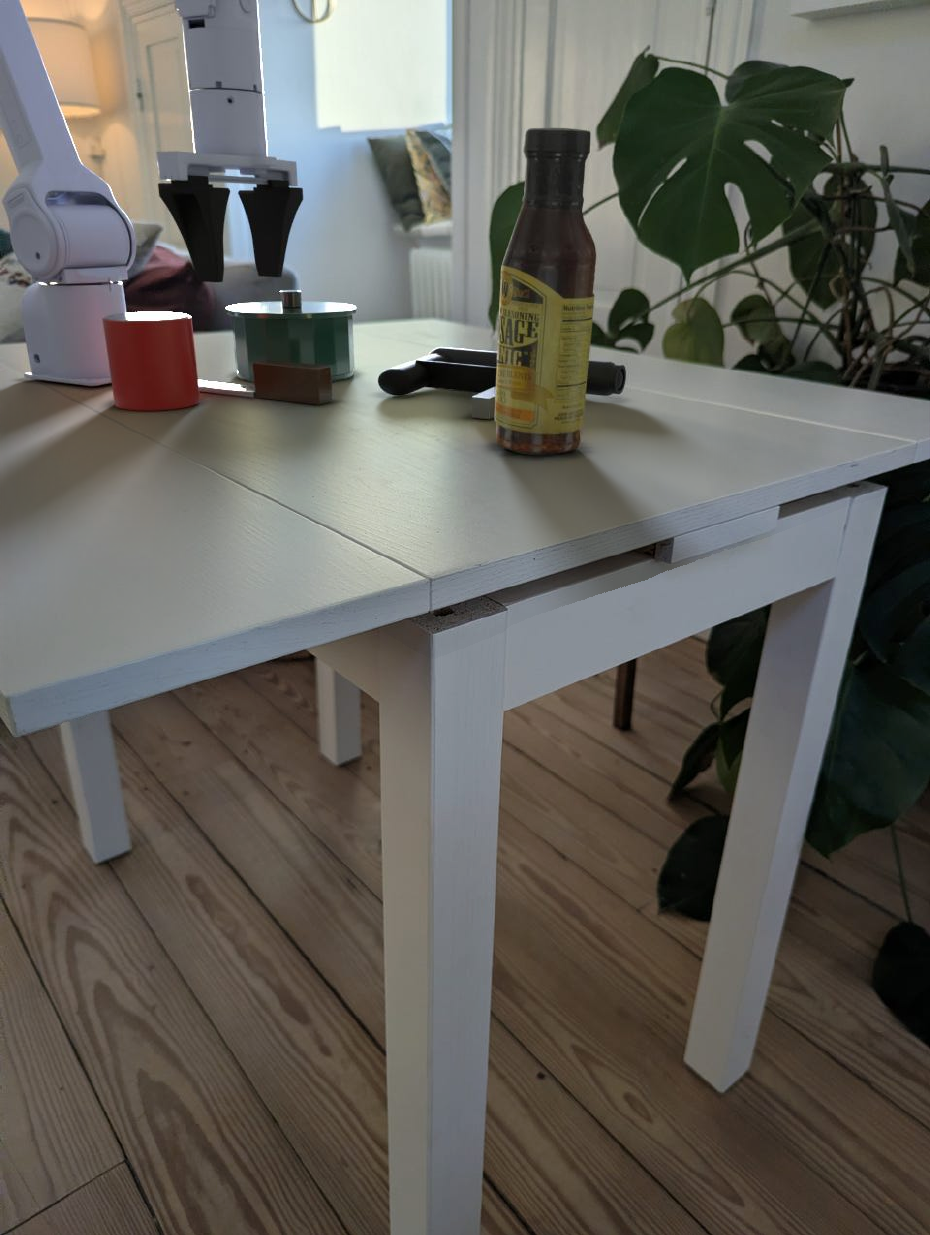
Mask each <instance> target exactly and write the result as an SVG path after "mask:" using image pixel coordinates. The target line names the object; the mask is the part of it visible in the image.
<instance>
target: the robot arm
mask: <svg viewBox="0 0 930 1235" xmlns="http://www.w3.org/2000/svg"><path fill="white" fill-rule="evenodd" d="M173 1H174V10H175V11H177V12H178V13H177V14H178V16H179V17H180V18H181V24H182V26H181V27H182V36H183V48H184V57H185V68H186V79H187V89H188V99H189V101H188V102H189V110H190V111H189V112H190V122H191V131H192V133H191V134H192V143H193V152H188V151H178V150H177V151H176V150H174V151H172V150H171V151H170V150H169V151H156V152H155V154H156V163H157V170H158V178H159V181H170V182H160V183H159V182H158V183H157V189H158V197H159V198H160V200H161V201H162V202H163V203H164V205H165V206H166V209H167V210H168V211H169V213H170V215H171V216H172V218H173V220H174V222H175V224H176V226H177V228H178V230H179V232H180V235H181V237H182V239H183V241H184V244H185V246H186V250H187V253H188V254H189V257H190V260H191V261H190V262H191V263H192V266H193V269H194V270H193V271H194V273H195V275H196V278H197V281H198V282H205V283H223V282H224V274H225V255H224V253H225V250H224V228H225V219H226V212H227V207H228V203H229V202H228V201H229V198H230V194H231V189H230V188H229V187H214V185H213V184H212V183H223V184H241V185H242V184H243V185H256V186H253V187H252V189H239V190H238V192H237V194H238V196H239V199H240V201H241V203H242V204H241V205H242V206H243V209H244V212H245V215H246V218H247V223H248V226H249V230H250V235H251V243H252V250H253V251H252V252H253V257H254V264H255V268H256V269H255V270H256V273H257V275H258V277H262V278H263V277H264V278H265V277H266V278H282V274H283V270H284V264H285V258H286V251H287V246H288V242H289V237H290V233H291V229H292V226H293V223H294V222H295V221H294V220H295V218H296V215H297V214H298V210H299V209H300V206H301V205H302V203H303V201H304V188H303V187H297V186H298V183H299V182H298V168H297V161H293V160H285V159H280V158H278V157H277V156H271V155H270V156H269V155H268V154H269V153H268V140H267V137H268V136H267V125H266V124H267V122H266V108H265V107H266V106H265V96H264V94H265V91H264V78H263V77H264V76H263V62H262V48H261V32H260V16H259V2H258V0H173ZM27 18H28V17H27V15H26V13H25V10H24V7H23V5H22V3H21V0H0V129H1V132H2V134H3V135H2V136H3V137H4V140H5V142H6V144H7V148H8V151H9V152H10V155H11V157H12V158H11V159H12V160H13V163H14V166H15V167H16V170H17V173H18V175H17V176H16V177H15V179H14V180H13V182H12V183H11V184H10V185H9V187H8V188H7V190H6V191H5V193H4V195H3V197H2V199H1V203H2V205H3V206H2V207H3V208H4V210H5V214H6V217H7V219H8V226H9V238H10V244H11V246H12V247H11V248H12V250H13V253H14V255H15V257H16V258H17V260H18V262H19V263H20V266H22V268H23V269H24V270H25V271H26V272H27V273H28V274H29V275H30V277H31V282H33V283H32V284H31V285H29V286H28V287H27V288H26V289H25V291H24V293H23V294H22V297H21V301H20V317H21V318H20V319H21V322H22V328H23V332H24V333H23V334H24V339H25V345H26V350H27V356H28V361H29V367H30V372H25V373H23V377H24V378H25V379H30V380H39V381H40V380H41V381H47V382H55V383H62V384H71V385H79V386H87V387H96V386H97V387H98V386H101V385H108V384H112V381H111V375H110V368H109V361H108V354H107V347H106V340H105V333H104V327H103V320H102V319H103V318H104V317H105V316H108V315H112V314H120V313H127V306H126V299H125V292H124V284H123V281H125V280H129V275H128V271H129V270H130V268H131V267H132V265H133V264H134V262H135V259H136V255H137V237H136V233H135V228H134V227H133V224H132V222H131V220H130V218H129V217H128V215H127V214H126V213H125V211H124V210H123V209H122V208H121V207H120V206H119V204H118V202H117V201H116V199H115V196H114V194H113V191H112V188H111V186H110V185H109V184H108V183H107V182H106V181H104V179H102V178H101V177H100V176H99V175H97V174H96V173H95V172H93V171H92V170H91V169H89V167H87V166H86V165H85V164H84V163H82V161H81V159H80V157H79V154H78V151H77V149H76V146H75V144H74V141H73V138H72V136H71V133H70V130H69V127H68V125H67V123H66V120H65V117H64V114H63V111H62V109H61V107H60V104H59V101H58V98H57V96H56V92H55V91H54V88H53V84H52V83H51V80H50V77H49V75H48V72H47V69H46V66H45V64H44V61H43V58H42V56H41V53H40V50H39V47H38V45H37V42H36V40H35V36H34V34H33V31H32V28H31V26H30V23H29V21H28V19H27ZM226 170H231V171H232V170H233V171H234V170H235V171H239V175H240V176H236V175H222V174H223V173H226ZM211 173H212V174H211ZM213 173H216V174H213ZM217 173H219V174H217ZM220 173H221V175H220Z"/></svg>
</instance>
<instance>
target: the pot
mask: <svg viewBox="0 0 930 1235" xmlns="http://www.w3.org/2000/svg"><path fill="white" fill-rule="evenodd" d="M230 316H231V328H232V338H233V348H234V349H233V350H234V363H235V370H236V373H237V374H236V375H237V378H239V379H240V380H243V381H247V382H252V383H254V378H253V366H252V363H254V362H259V361H264V360H271V361H282V362H292V363H302V364H313V365H323V366H331V377H332V382H337V381H342V380H346V379H348V378H351V377H353V376H354V370H355V348H354V347H355V346H354V324H353V322H354V320H353V314H352V315H347V316H340V317H330V318H313V319H261V318H246V317H237V316H232V315H230Z"/></svg>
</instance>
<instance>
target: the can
mask: <svg viewBox="0 0 930 1235" xmlns="http://www.w3.org/2000/svg"><path fill="white" fill-rule="evenodd" d="M102 320H103V327H104V333H105V340H106V347H107V354H108V361H109V368H110V375H111V381H112V383H111V388H112V394H113V400H114V401H113V402H114V406H115V407H117V408H119V409H122V410H126V411H127V410H128V411H142V412H143V411H145V412H146V411H147V412H148V411H149V412H150V411H151V412H152V411H153V412H154V411H171V410H178V409H185V408H190V407H192V406H195V405H198V404H199V403H201V393H200V392H201V391H199V383H198V380H199V374H198V366H197V365H198V364H197V356H196V345H195V336H194V330H193V329H194V328H193V319H192V316H191V315H190V314H187V313H183V312H173V311H137V312H136V311H135V312H126V313H120V314H112V315H108V316H105V317H104V318H103V319H102Z"/></svg>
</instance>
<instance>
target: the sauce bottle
mask: <svg viewBox="0 0 930 1235" xmlns="http://www.w3.org/2000/svg"><path fill="white" fill-rule="evenodd" d="M591 134H592V133H591V131H590V130H587V129H580V128H571V127H570V128H569V127H530V128H527V129H526V130H525V133H524V142H523V150H522V151H523V154H524V157H525V159H526V160H525V175H524V194H523V197H522V204H521V208H520V211H519V214H518V217H517V219H516V223H515V225H514V229H513V231H512V234H511V237H510V239H509V242H508V246H507V248H506V250H505V254H504V257H503V259H502V260H503V261H502V263H501V266H500V279H499V282H500V285H499V286H500V287H499V288H500V289H499V309H498V310H499V311H498V321H497V323H498V324H497V350H496V352H497V375H496V395H495V417H494V423H496V429H495V431H496V434H495V435H496V436H495V437H496V442H497V445H499V446H500V447H501V448H503V449H505V450H509V451H512V452H515V453H518V454H522V455H529V456H532V455H553V454H563V453H569V452H573V451H574V450H576V449H578V448H579V446H580V443H581V441H582V439H581V438H582V437H581V429H582V428H583V427H584V422H585V421H584V420H585V408H586V397H587V394H586V387H587V375H588V364H589V360H590V354H591V341H592V330H593V318H594V306H595V293H594V284H595V275H596V264H597V251H596V250H597V248H596V244H595V241H594V239H593V237H592V234H591V233H590V230H589V228H588V226H587V223H586V221H585V217H584V214H583V213H584V212H583V210H584V209H583V208H584V202H585V197H584V185H585V175H586V174H585V173H586V162H587V160H588V158H589V155H590V152H591V137H592V136H591Z"/></svg>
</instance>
